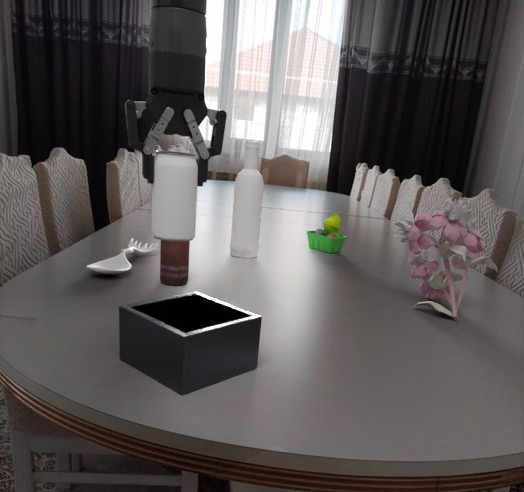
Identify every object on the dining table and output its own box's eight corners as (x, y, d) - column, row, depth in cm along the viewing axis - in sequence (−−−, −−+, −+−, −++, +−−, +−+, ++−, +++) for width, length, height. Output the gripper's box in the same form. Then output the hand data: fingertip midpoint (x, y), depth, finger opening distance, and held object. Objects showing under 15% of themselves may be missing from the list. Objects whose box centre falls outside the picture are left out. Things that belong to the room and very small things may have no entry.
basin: (181, 395, 66) (184, 337, 63) (119, 359, 74) (118, 306, 71) (257, 368, 76) (262, 316, 73) (194, 338, 84) (196, 291, 81)
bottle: (247, 259, 141) (257, 141, 130) (224, 254, 144) (231, 138, 133) (263, 255, 147) (273, 142, 136) (240, 250, 151) (248, 140, 140)
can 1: (193, 234, 81) (196, 153, 77) (196, 243, 76) (200, 155, 71) (151, 232, 80) (152, 149, 76) (151, 240, 74) (152, 151, 70)
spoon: (163, 253, 139) (164, 240, 138) (120, 282, 110) (120, 266, 108) (131, 249, 140) (131, 236, 139) (79, 277, 110) (78, 261, 109)
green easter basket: (303, 247, 165) (307, 210, 161) (321, 245, 171) (326, 210, 166) (330, 254, 157) (335, 216, 153) (348, 252, 163) (354, 216, 159)
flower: (523, 311, 111) (505, 197, 111) (481, 319, 95) (460, 185, 95) (436, 325, 126) (420, 223, 126) (387, 333, 110) (368, 217, 110)
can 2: (160, 286, 110) (161, 219, 105) (159, 278, 116) (160, 214, 110) (189, 287, 111) (191, 221, 106) (186, 279, 117) (189, 216, 112)
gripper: (223, 63, 74) (217, 184, 80) (119, 48, 69) (121, 178, 76) (237, 58, 68) (229, 190, 74) (124, 41, 63) (125, 184, 69)
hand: (174, 184), depth 75 cm, fingers closed on can 1, 6 cm apart
